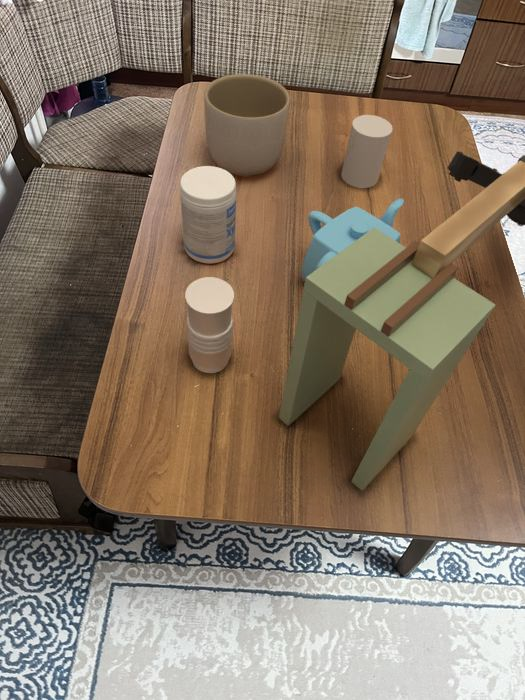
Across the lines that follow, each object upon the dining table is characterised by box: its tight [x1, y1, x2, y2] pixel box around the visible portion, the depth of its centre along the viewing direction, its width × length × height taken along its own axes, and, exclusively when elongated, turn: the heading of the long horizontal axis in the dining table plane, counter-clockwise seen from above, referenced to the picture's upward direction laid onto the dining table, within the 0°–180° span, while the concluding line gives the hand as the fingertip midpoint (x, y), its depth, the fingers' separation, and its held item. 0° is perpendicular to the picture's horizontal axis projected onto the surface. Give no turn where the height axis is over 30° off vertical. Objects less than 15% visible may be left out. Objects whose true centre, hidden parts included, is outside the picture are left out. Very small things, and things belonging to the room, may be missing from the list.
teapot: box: [301, 198, 405, 282], centre depth 93 cm, size 18×16×14 cm
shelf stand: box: [278, 227, 496, 492], centre depth 67 cm, size 16×12×32 cm
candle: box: [184, 276, 235, 374], centre depth 79 cm, size 7×7×15 cm
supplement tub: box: [179, 165, 237, 264], centre depth 94 cm, size 10×10×15 cm
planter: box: [203, 73, 291, 177], centre depth 111 cm, size 17×17×15 cm
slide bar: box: [412, 154, 525, 278], centre depth 61 cm, size 3×23×4 cm, turn 136°
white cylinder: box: [340, 114, 393, 189], centre depth 112 cm, size 8×8×12 cm
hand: (506, 191), depth 63 cm, fingers open, 13 cm apart
